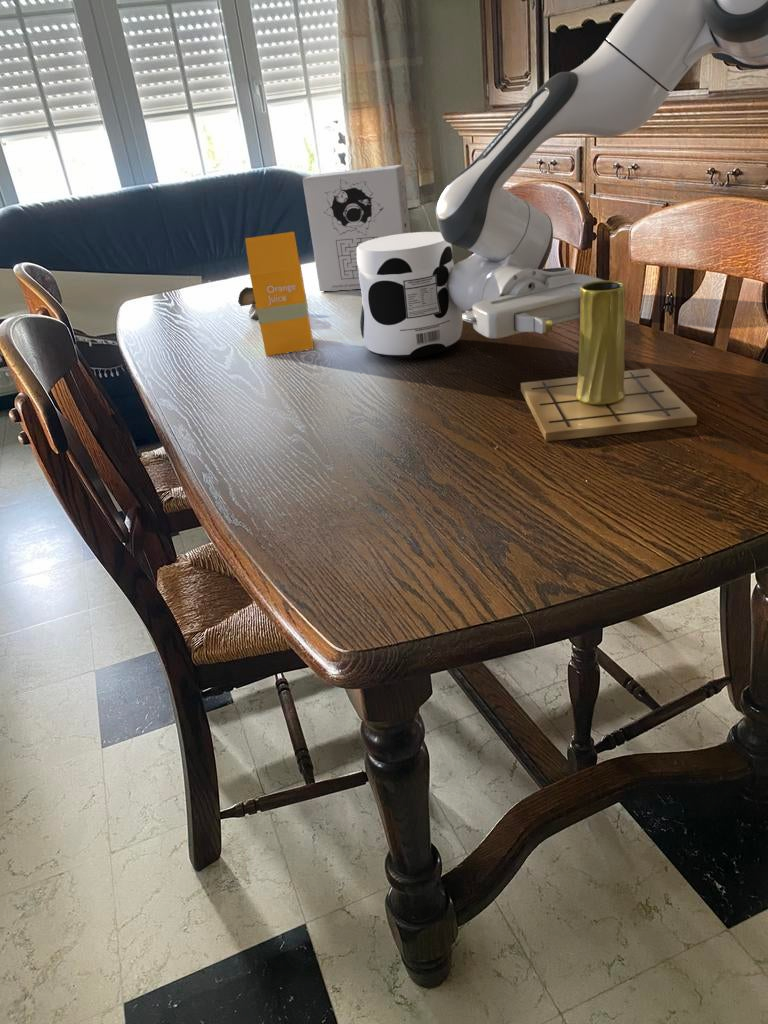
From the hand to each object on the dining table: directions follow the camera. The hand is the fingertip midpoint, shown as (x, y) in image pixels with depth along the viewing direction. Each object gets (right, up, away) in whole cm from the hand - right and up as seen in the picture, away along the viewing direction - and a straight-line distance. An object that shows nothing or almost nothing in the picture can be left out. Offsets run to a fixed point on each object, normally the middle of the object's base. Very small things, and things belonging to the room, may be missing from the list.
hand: (578, 318), depth 96 cm
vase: (+3, -10, +1) cm, 11 cm away
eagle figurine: (-53, +18, +68) cm, 88 cm away
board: (+3, -11, +1) cm, 12 cm away
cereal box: (-29, +28, +81) cm, 90 cm away
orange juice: (-43, +6, +43) cm, 61 cm away
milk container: (-20, +3, +32) cm, 38 cm away
